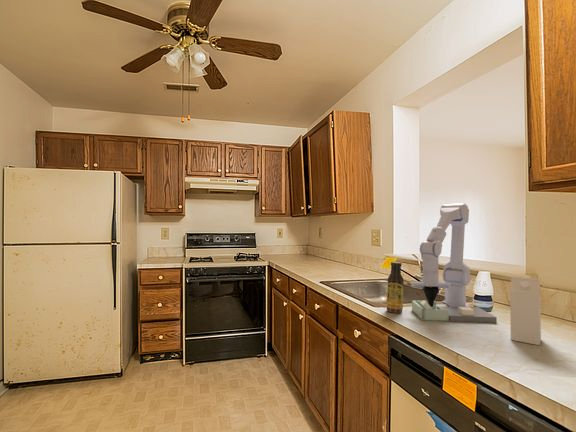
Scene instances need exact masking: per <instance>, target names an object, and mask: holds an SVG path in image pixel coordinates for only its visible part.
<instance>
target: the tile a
mask: <svg viewBox="0 0 576 432" xmlns="http://www.w3.org/2000/svg"><path fill="white" fill-rule="evenodd" d="M421 301H422V302H421V304H422V306H423V307H424V308H425V309H432V308H431V307H430V305H429V304H428V303H427V302H426V301H427V300H425V299H423V300H421Z"/></svg>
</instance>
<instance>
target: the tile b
mask: <svg viewBox="0 0 576 432" xmlns="http://www.w3.org/2000/svg"><path fill="white" fill-rule="evenodd" d="M470 307H471V306H470ZM470 307H458V312H459V313H460V314H462V315H474V310H473V309H471V308H470Z"/></svg>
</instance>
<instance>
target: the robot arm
mask: <svg viewBox="0 0 576 432" xmlns="http://www.w3.org/2000/svg"><path fill="white" fill-rule="evenodd" d="M439 209H440V210H439V214H440V218H439V221H438V222H437V225H436V226H435V227H432V229H431V231H430V233H429V235H428V236H427V237H426V240H424V241H422V242H421V243H420V245H419V253H420V257H421V260H422V281H411V282H410V287H411V288H413V289H414V288H422V290H423V292H424V294H425V297H426V301H428V304H429V305H430V307H433V304H434V301H436V297H437V296H438V294H439V292H440V289H444V300H442V303H445V305H446V306H451V307H471V306H470V305H468V304H467V297H466V296H467V292H466V291H467V289H466V288H467V286H468V285H469V284H470V282H471V278H472V277H471V270H470V267H469V266H468V265H467V264H466V263H464V247H465V230H466V229H465V228H466V227H465V226H466V224H468V223H469V216H470V215H469V214H470V210H469V206H468V205H467V203H464V202H463V203H450V204H449V203H448V204H446V203H443V204H441V206H440V208H439ZM450 225H451V240H450V241H451V242H450V243H451V244H450V259H449V262H447V263H446V264H444V266H443V271H442V280H443V281H444V282H443V281H442V282H441V281H439V256H440V255H442V249H443V242H444V240H445V239H446V236H447V232H446V230H447V229H448V227H449V226H450Z"/></svg>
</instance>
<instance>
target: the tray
mask: <svg viewBox="0 0 576 432" xmlns="http://www.w3.org/2000/svg"><path fill="white" fill-rule="evenodd" d="M422 301H423V300H411V311H412V312H413V313H414V314H415V315H416V316H417V317H418V318H420V320H421V321H427V322H429V321H430V322H431V321H433V322H450V321H449V310H442V309H437V308H436V306H437V301H436V300H435V301H434V304H433V307H431V308H432V309H425V308H424V307H423V306H422V304H421V302H422ZM425 301H426V302H427V303H428V301H427V300H425Z"/></svg>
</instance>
